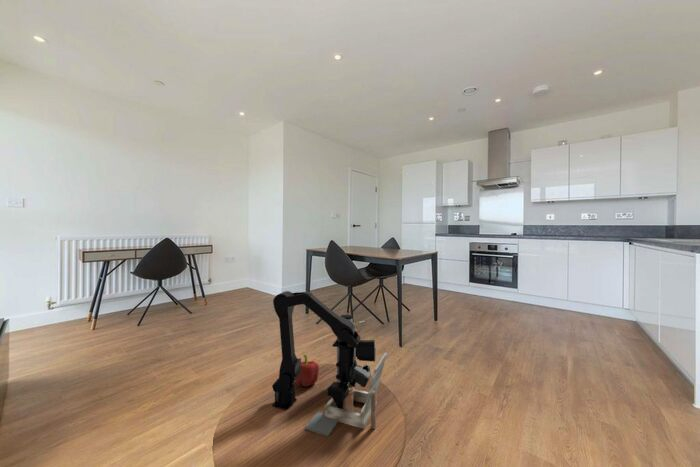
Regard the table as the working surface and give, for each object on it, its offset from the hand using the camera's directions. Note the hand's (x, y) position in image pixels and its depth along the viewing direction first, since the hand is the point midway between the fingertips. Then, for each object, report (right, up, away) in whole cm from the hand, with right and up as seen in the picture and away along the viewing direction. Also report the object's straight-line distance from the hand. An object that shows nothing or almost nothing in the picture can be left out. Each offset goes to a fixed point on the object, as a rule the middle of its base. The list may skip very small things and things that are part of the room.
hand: (346, 404), depth 92 cm
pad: (-7, -1, -8) cm, 11 cm away
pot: (0, -2, 0) cm, 2 cm away
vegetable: (-17, -3, +17) cm, 24 cm away
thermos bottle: (0, -3, +16) cm, 16 cm away
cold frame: (+4, -1, -2) cm, 4 cm away
